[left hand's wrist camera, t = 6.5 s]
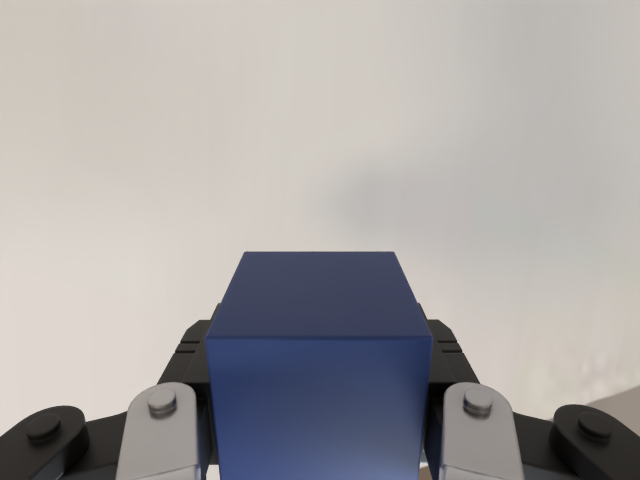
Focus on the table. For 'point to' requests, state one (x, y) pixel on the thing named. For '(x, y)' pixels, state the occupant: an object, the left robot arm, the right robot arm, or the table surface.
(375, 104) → the table surface
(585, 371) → the table surface
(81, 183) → the table surface
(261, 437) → the brick
